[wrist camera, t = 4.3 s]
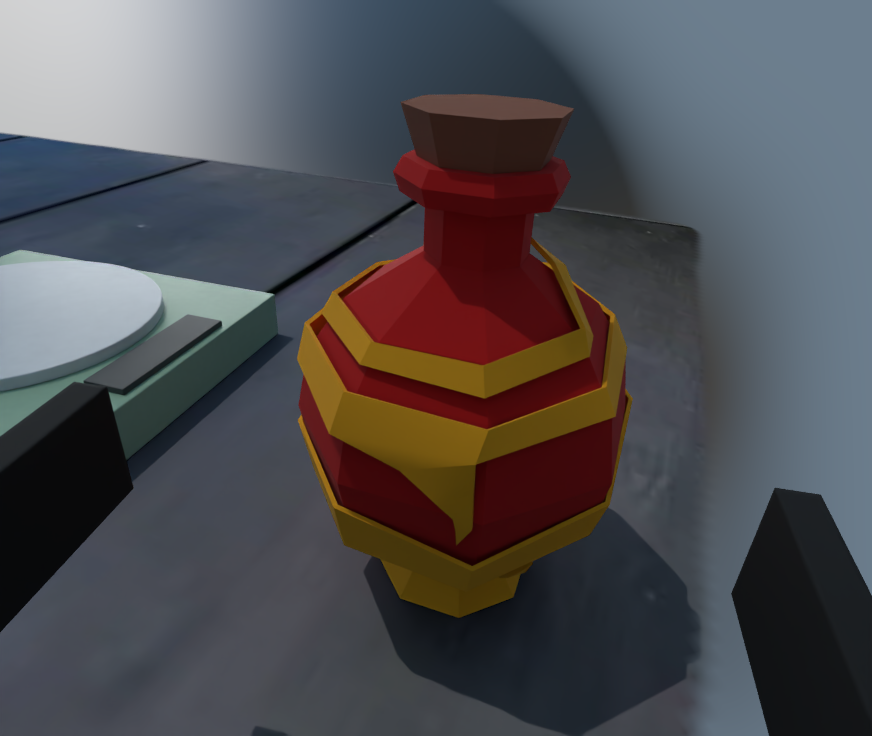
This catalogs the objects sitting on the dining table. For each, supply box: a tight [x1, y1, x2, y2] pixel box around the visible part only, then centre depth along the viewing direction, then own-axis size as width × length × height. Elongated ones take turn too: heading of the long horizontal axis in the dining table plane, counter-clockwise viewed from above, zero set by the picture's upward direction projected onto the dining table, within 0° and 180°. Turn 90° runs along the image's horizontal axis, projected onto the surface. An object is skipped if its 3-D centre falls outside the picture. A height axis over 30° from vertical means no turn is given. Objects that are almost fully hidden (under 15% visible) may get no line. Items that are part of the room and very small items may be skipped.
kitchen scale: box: [0, 250, 278, 460], centre depth 31 cm, size 18×16×3 cm
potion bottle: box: [297, 94, 633, 618], centre depth 19 cm, size 10×10×15 cm
